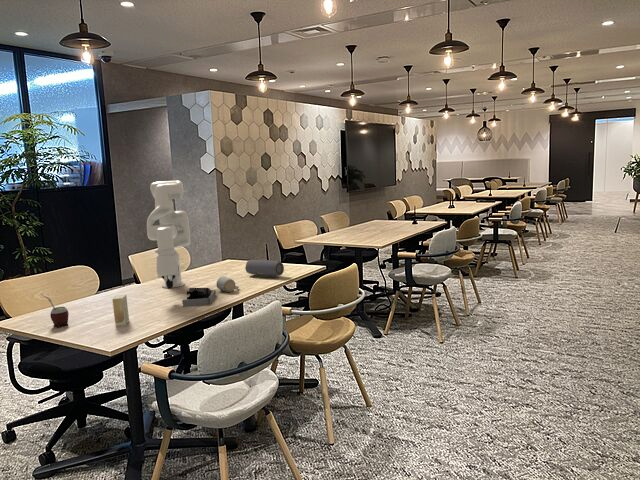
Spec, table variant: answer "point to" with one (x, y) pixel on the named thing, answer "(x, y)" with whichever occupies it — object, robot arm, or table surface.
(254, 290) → the table surface
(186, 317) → the table surface
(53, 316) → the mate gourd
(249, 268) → the bluetooth speaker
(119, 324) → the skincare box
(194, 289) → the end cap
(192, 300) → the tray
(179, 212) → the robot arm
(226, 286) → the ceramic mug
